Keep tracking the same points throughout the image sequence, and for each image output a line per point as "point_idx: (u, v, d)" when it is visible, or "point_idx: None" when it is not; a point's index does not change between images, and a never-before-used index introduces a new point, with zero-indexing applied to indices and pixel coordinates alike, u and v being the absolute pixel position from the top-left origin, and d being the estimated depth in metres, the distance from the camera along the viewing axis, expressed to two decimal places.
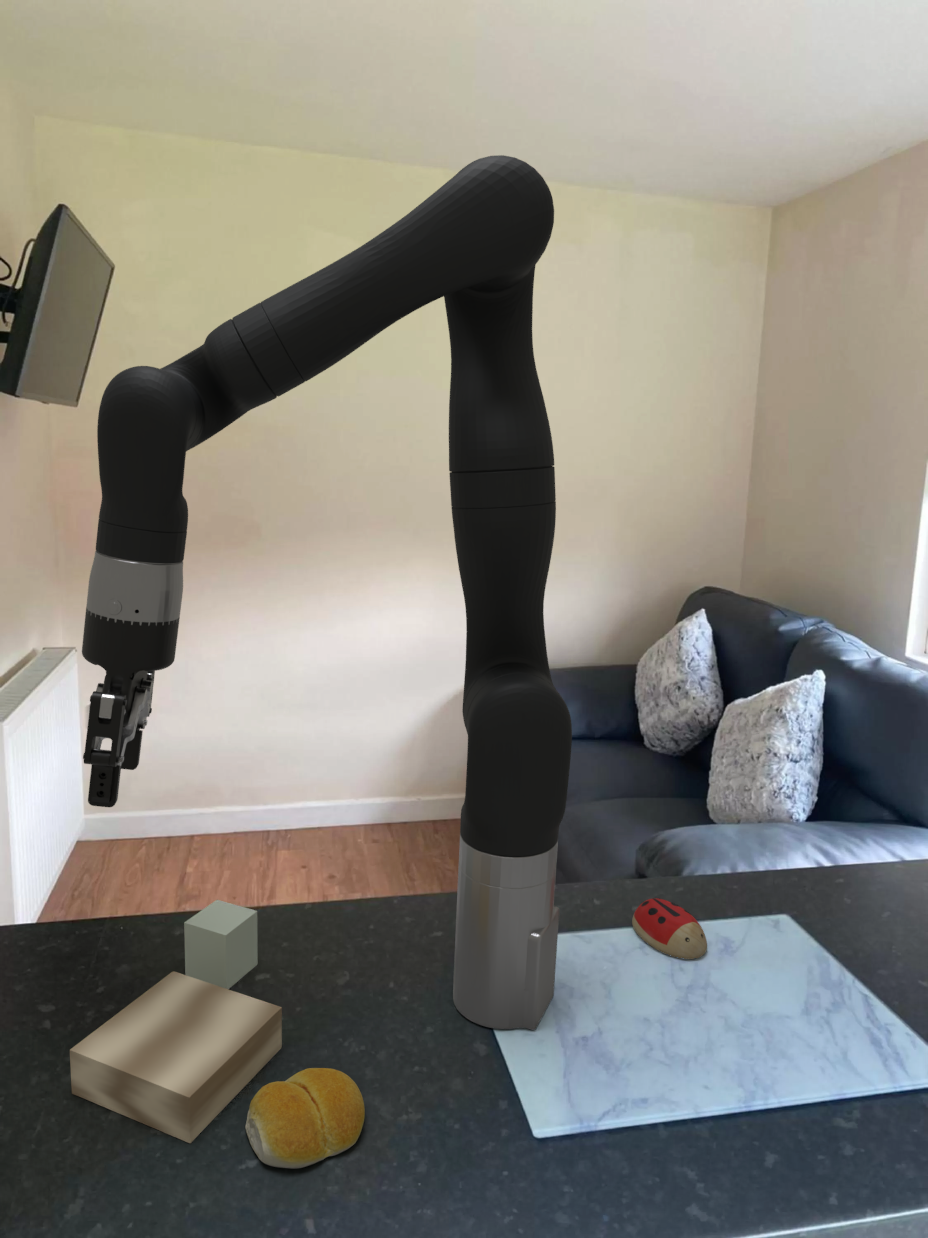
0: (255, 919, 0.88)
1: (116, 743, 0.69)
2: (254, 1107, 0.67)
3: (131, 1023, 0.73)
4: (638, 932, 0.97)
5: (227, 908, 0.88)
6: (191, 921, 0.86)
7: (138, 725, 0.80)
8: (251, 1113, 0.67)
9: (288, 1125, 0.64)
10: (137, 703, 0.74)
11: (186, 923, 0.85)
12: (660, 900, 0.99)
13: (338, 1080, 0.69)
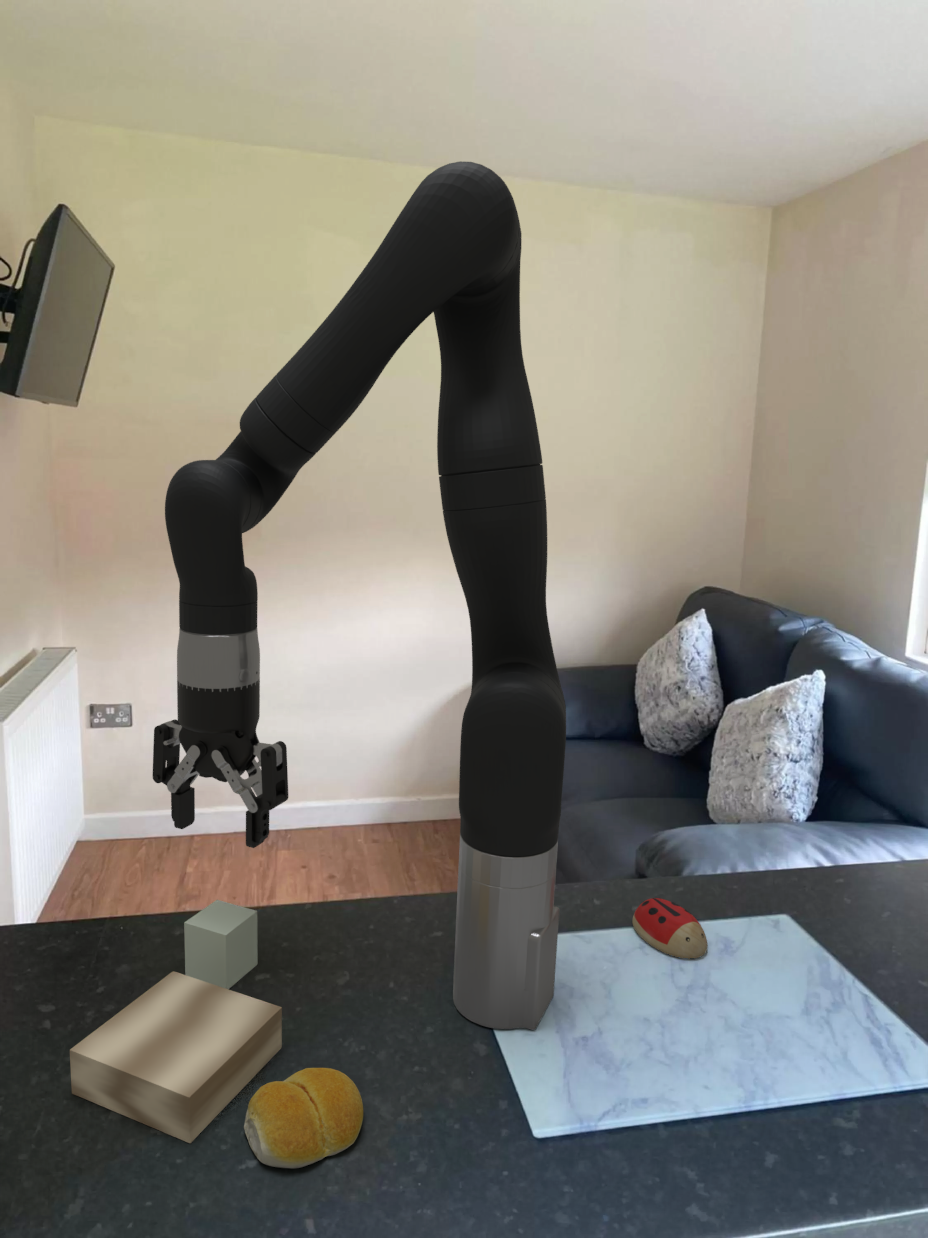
0: (255, 919, 0.88)
1: (287, 781, 0.82)
2: (253, 1107, 0.67)
3: (131, 1023, 0.73)
4: (638, 932, 0.97)
5: (227, 908, 0.88)
6: (191, 921, 0.86)
7: (190, 782, 0.86)
8: (250, 1113, 0.67)
9: (287, 1125, 0.64)
10: None
11: (186, 923, 0.85)
12: (660, 900, 0.99)
13: (337, 1079, 0.69)
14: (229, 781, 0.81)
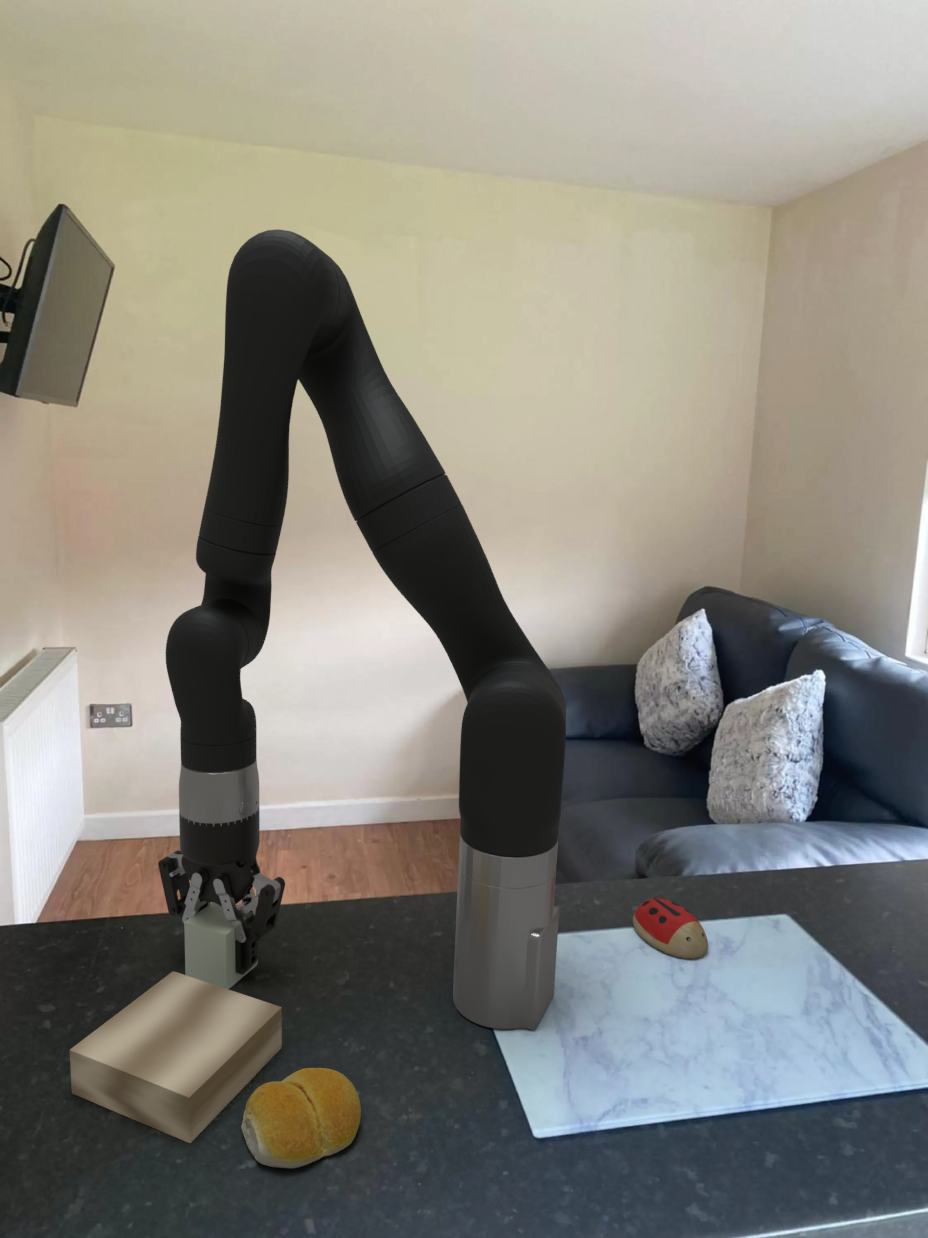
0: None
1: None
2: (250, 1107, 0.67)
3: (131, 1023, 0.73)
4: (639, 932, 0.97)
5: None
6: (191, 921, 0.86)
7: None
8: (247, 1113, 0.67)
9: (284, 1125, 0.64)
10: None
11: (186, 923, 0.85)
12: (660, 900, 0.99)
13: (334, 1079, 0.69)
14: (224, 909, 0.84)
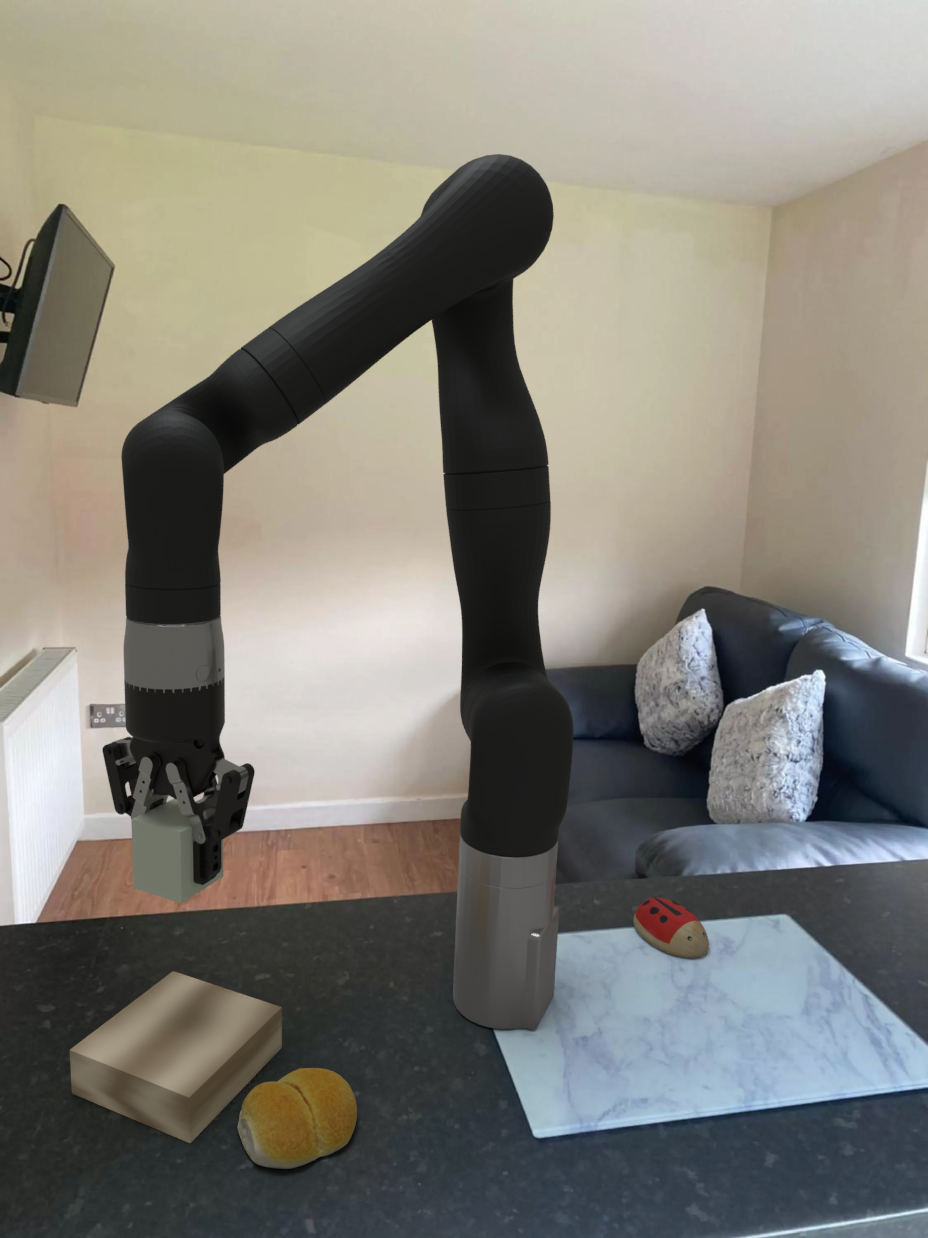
0: None
1: (246, 809, 0.69)
2: (246, 1107, 0.67)
3: (131, 1023, 0.73)
4: (640, 931, 0.97)
5: None
6: (140, 817, 0.70)
7: None
8: (243, 1113, 0.67)
9: (280, 1125, 0.64)
10: None
11: (134, 820, 0.69)
12: (661, 899, 0.99)
13: (331, 1080, 0.69)
14: (179, 801, 0.68)
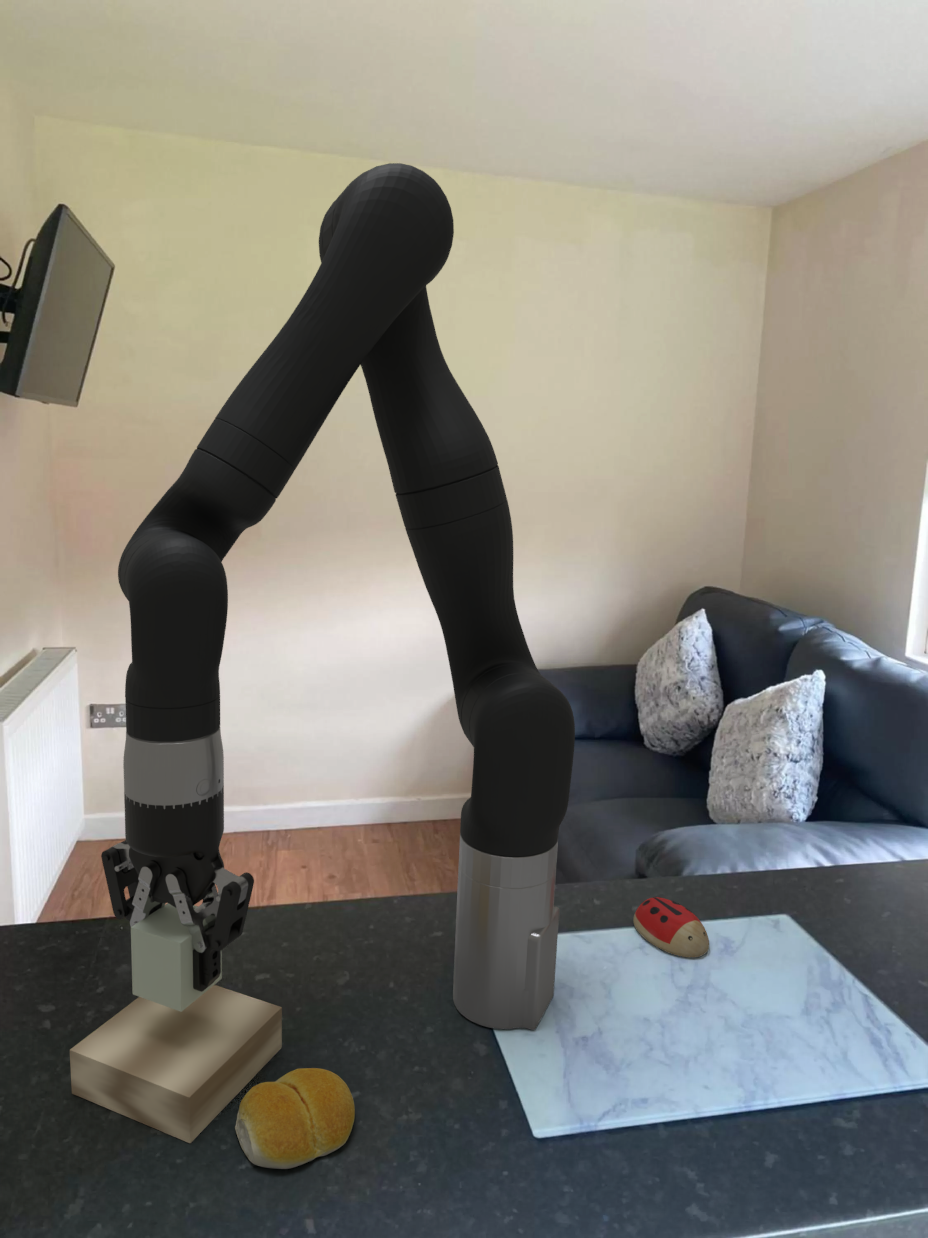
0: None
1: (245, 917, 0.70)
2: (244, 1108, 0.67)
3: (131, 1023, 0.73)
4: (640, 931, 0.97)
5: None
6: (139, 925, 0.70)
7: None
8: (241, 1114, 0.67)
9: (278, 1125, 0.64)
10: None
11: (133, 928, 0.70)
12: (661, 899, 0.99)
13: (328, 1080, 0.69)
14: (179, 911, 0.69)
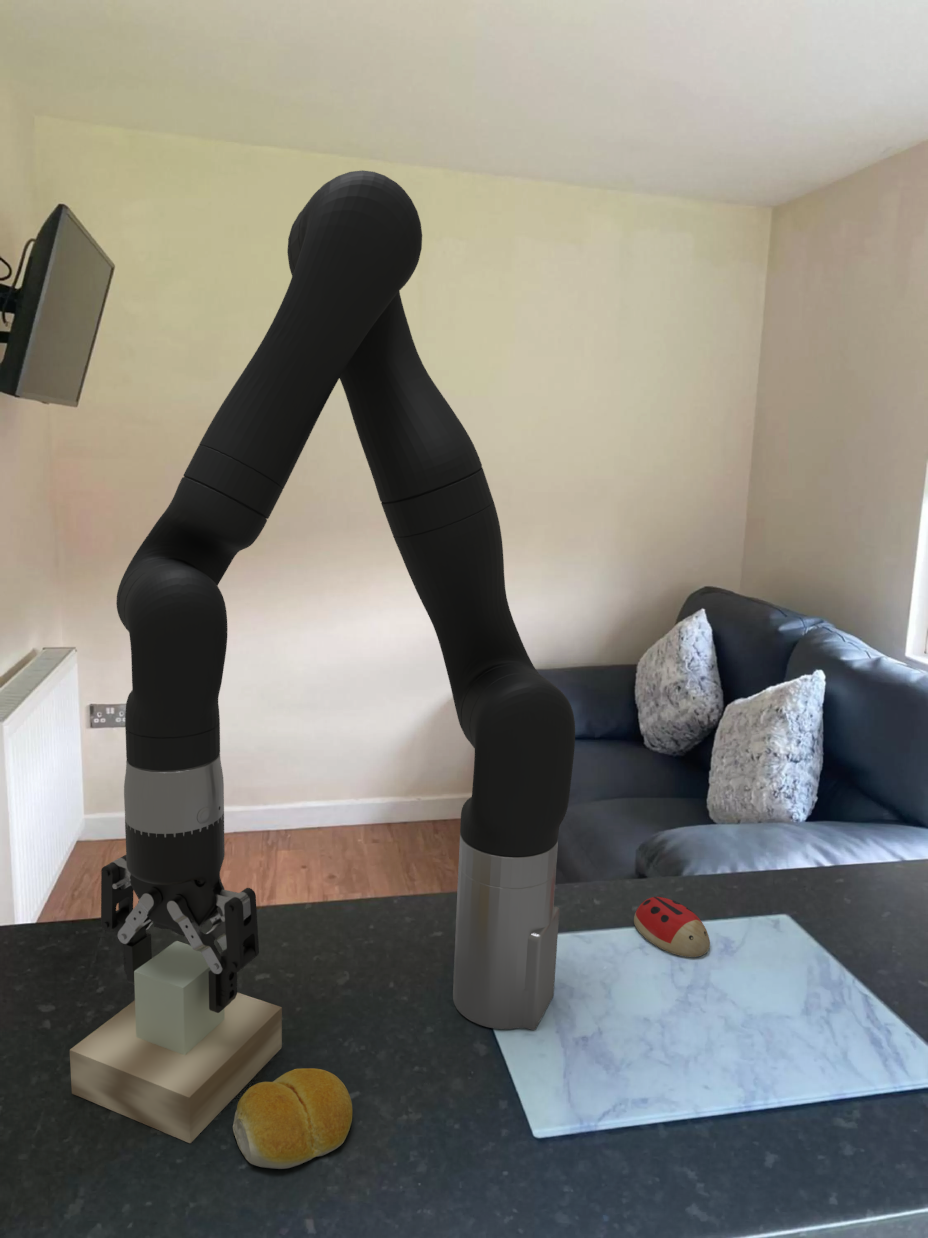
0: None
1: (257, 934, 0.70)
2: (241, 1107, 0.67)
3: (131, 1023, 0.73)
4: (641, 931, 0.97)
5: (188, 952, 0.73)
6: (143, 969, 0.71)
7: (146, 928, 0.74)
8: (238, 1113, 0.67)
9: (275, 1125, 0.64)
10: None
11: (137, 972, 0.70)
12: (661, 898, 0.99)
13: (326, 1080, 0.69)
14: (188, 937, 0.69)
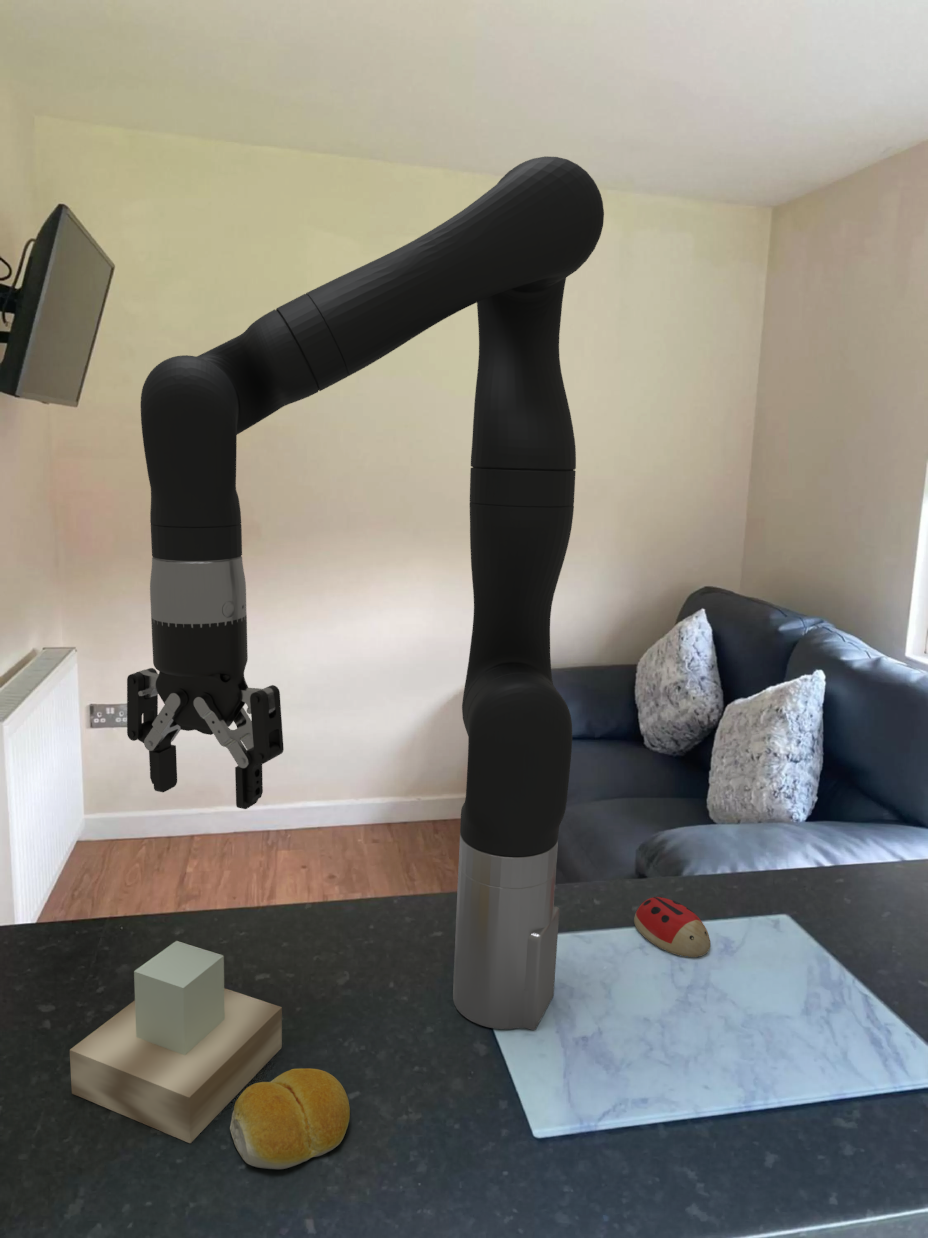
0: (221, 965, 0.73)
1: (281, 731, 0.72)
2: (238, 1108, 0.67)
3: (131, 1023, 0.73)
4: (641, 931, 0.97)
5: (188, 952, 0.73)
6: (143, 969, 0.71)
7: (171, 739, 0.76)
8: (235, 1114, 0.66)
9: (272, 1126, 0.64)
10: None
11: (137, 972, 0.70)
12: (662, 899, 0.99)
13: (323, 1080, 0.69)
14: (215, 732, 0.71)
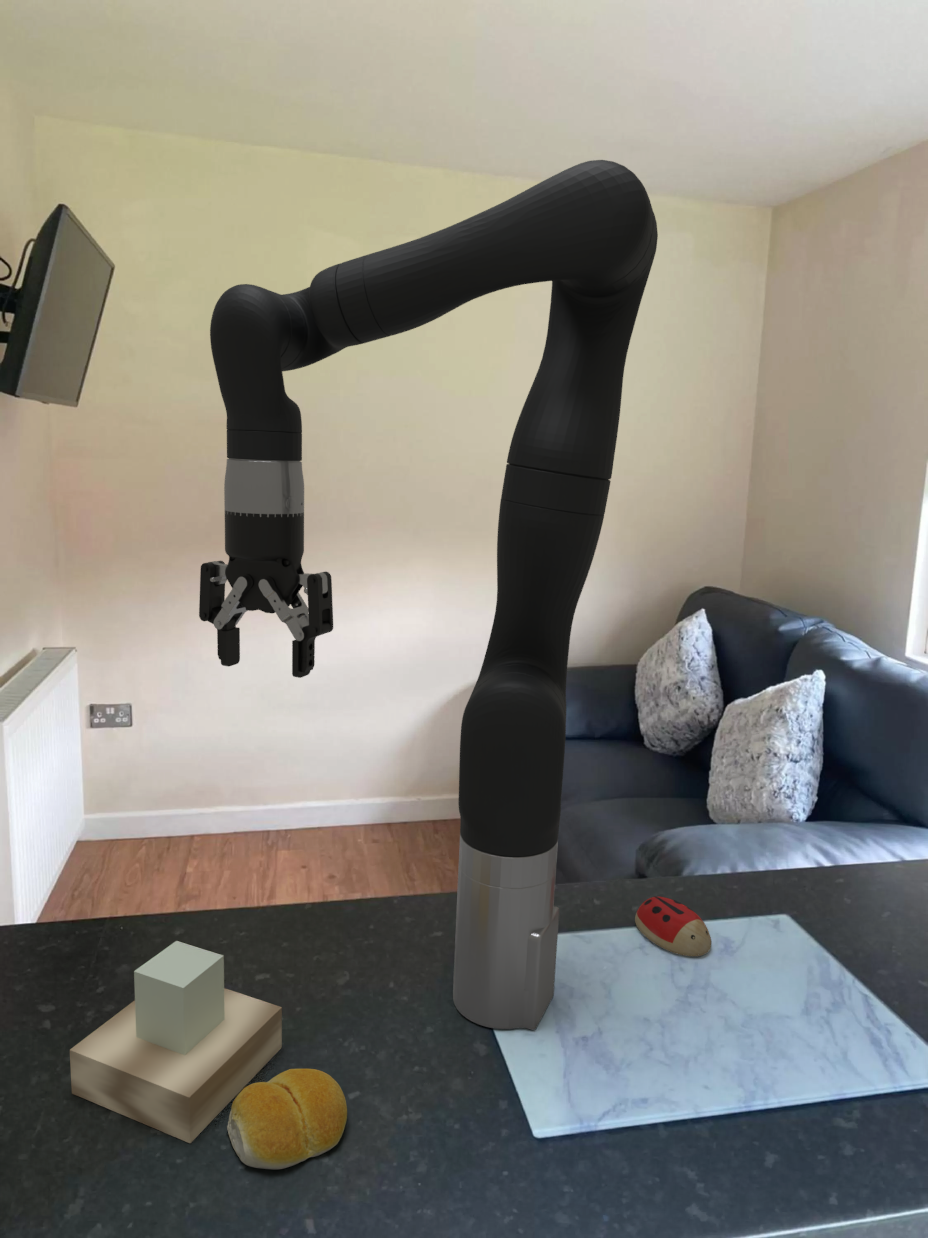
0: (221, 965, 0.73)
1: (332, 611, 0.84)
2: (236, 1108, 0.66)
3: (131, 1023, 0.73)
4: (642, 931, 0.97)
5: (188, 952, 0.73)
6: (143, 969, 0.71)
7: (236, 622, 0.89)
8: (233, 1114, 0.66)
9: (270, 1126, 0.64)
10: None
11: (137, 972, 0.70)
12: (662, 898, 0.99)
13: (321, 1080, 0.69)
14: (276, 610, 0.83)
